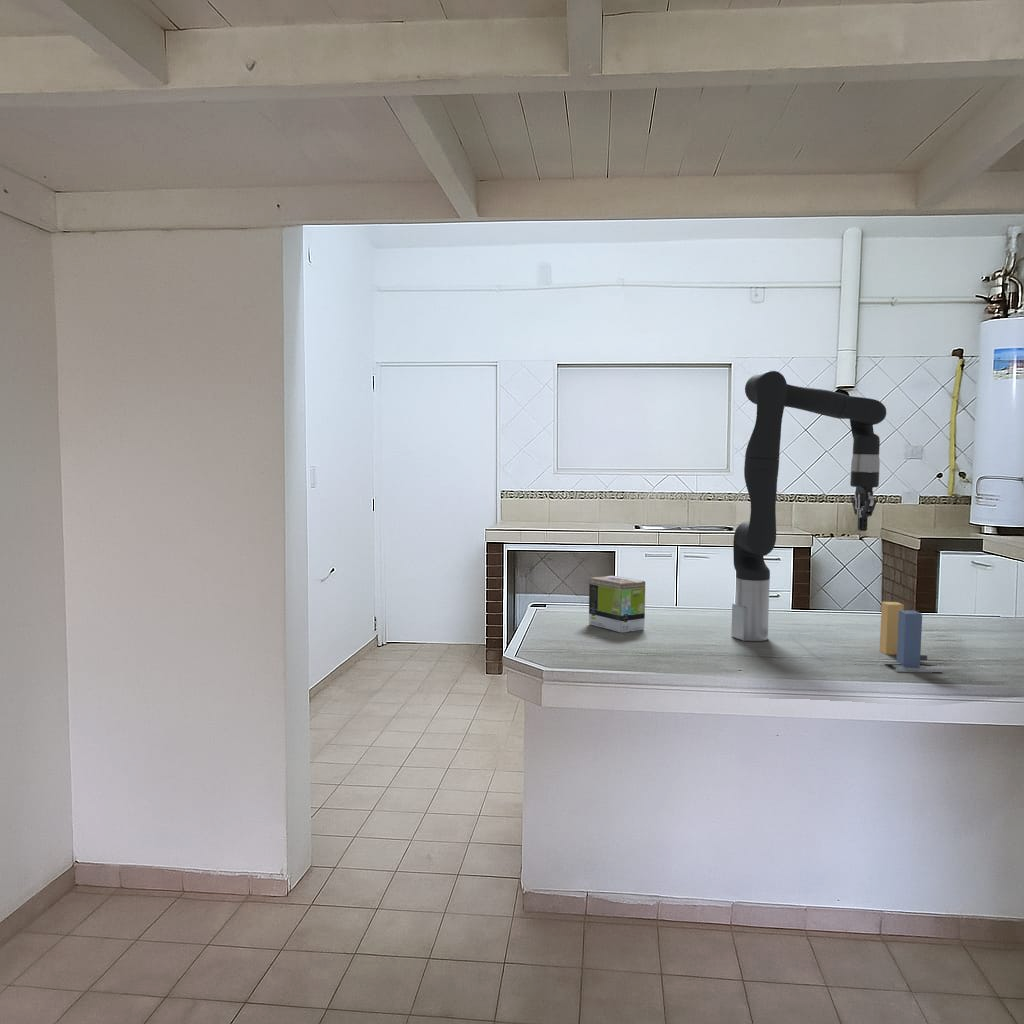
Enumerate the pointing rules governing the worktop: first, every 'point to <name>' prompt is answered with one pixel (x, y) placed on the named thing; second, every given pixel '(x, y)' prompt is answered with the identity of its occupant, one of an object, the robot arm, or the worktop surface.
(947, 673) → the worktop surface
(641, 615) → the tea box
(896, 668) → the bolt plate
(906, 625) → the fixed leg
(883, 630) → the block
